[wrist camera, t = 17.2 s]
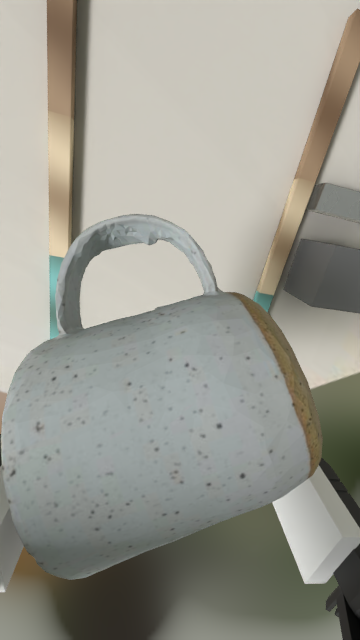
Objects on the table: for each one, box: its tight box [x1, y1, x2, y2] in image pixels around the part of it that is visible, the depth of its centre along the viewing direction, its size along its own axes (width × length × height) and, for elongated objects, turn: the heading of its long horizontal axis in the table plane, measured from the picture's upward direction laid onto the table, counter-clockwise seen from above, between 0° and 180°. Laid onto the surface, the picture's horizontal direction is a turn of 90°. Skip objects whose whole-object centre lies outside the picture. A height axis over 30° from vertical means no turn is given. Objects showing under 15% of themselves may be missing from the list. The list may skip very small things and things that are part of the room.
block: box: [283, 239, 360, 313], centre depth 22 cm, size 5×5×5 cm
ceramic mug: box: [1, 214, 323, 580], centre depth 8 cm, size 11×8×8 cm
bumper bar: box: [306, 183, 360, 223], centre depth 21 cm, size 2×6×2 cm, turn 79°
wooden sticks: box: [47, 0, 360, 339], centre depth 21 cm, size 30×21×1 cm
